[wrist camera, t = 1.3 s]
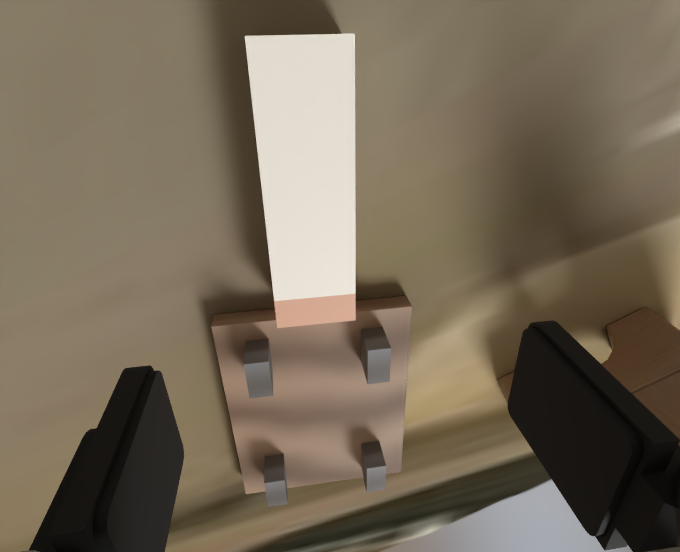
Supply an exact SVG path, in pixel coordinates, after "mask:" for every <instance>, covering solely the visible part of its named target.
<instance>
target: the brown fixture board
mask: <svg viewBox="0 0 680 552" xmlns="http://www.w3.org/2000/svg"><path fill="white" fill-rule="evenodd" d="M411 313H412V306H411V304H410V302H409V300H408V298H407V296H398V297H388V298H377V299H367V300H357V301H356V320H354V321H344V322H334V323H324V324H314V325H304V326H294V327H284V328H277V322H276V313H275V309H265V310H254V311H244V312H234V313H224V314H214V316H213V321H212V326H211V328H212V333H213V337H214V342H215V347H216V352H217V357H218V361H219V366H220V371H221V376H222V381H223V386H224V390H225V395H226V400H227V405H228V410H229V414H230V419H231V424H232V429H233V434H234V439H235V443H236V448H237V453H238V458H239V463H240V467H241V472H242V477H243V482H244V487H245V491H246V494H250V493H257V492H264V491H266V497H267V503H268V507H270V506H277V505H284V504H288V496H287V488H291V487H298V486H305V485H312V484H319V483H326V482H333V481H340V480H346V479H353V478H360V477H364V482H365V487H366V491H367V492H371V491H377V490H384V489H385V484H386V474H388V473H395V472H401V462H402V447H403V432H404V417H405V402H406V387H407V373H408V358H409V343H410V328H411Z"/></svg>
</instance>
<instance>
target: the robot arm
mask: <svg viewBox="0 0 680 552" xmlns="http://www.w3.org/2000/svg"><path fill="white" fill-rule="evenodd" d="M508 411H509V414H510V416H511V418H512V419H513V421H514V422H515V424H516V425H517V427H518V428H519V430H520V431H521V433H522V434H523V436H524V437H525V439H526V440H527V442H528V444H529V445H530V447H531V448H532V450H533V451H534V453H535V454H536V456H537V457H538V459H539V460H540V462H541V463H542V465H543V466H544V468H545V469H546V471H547V473H548V474H549V476H550V477H551V479H552V480H553V482H554V483H555V484H556V486H557V488H558V489H559V491H560V492H561V494H562V495H563V497H564V498H565V500H566V501H567V503H568V505H569V506H570V508H571V509H572V511H573V512H574V514H575V515H576V517H577V518H578V520H579V521H580V523H581V524H582V526H583V527H584V529H585V530H586V531H587V533H589V534H590V535H591V536H595V537H596V538H597V539H598V541H599V543H600V544H601V546H602V547H603V549H604V550H609V549H615V548H621V547H626V546H627V545H628V546H629V547H630V548H631V550H632V551H633V552H680V446H679V445H678V444H679V442H680V439H679V438H678V437H677V436H676V435H675V434H674V433H673V432H672V431H670V430H669V429H668V428H667V427H666V426H665V425H664V424H663V423H662V422H661V421H660V420H659V419H658V418H657V417H656V416H655V415H654V414H653V413H652V412H651V411H650V410H648V409H647V408H646V407H645V406H644V405H643V404H642V403H641V402H640V401H639V400H638V399H637V398H636V397H635V396H634V395H633V394H632V393H631V392H630V391H629V390H627V389H626V388H625V387H624V386H623V385H622V384H621V383H620V382H619V381H618V380H617V379H616V378H615V377H614V376H613V375H612V374H611V373H610V372H609V371H608V370H606V369H605V368H604V367H603V366H602V365H601V364H600V363H599V362H598V361H597V360H596V359H595V358H594V357H593V356H592V355H591V354H590V353H589V352H588V351H587V350H586V349H584V348H583V347H582V346H581V345H580V344H579V343H578V342H577V341H576V340H575V339H574V338H573V337H572V336H571V335H570V334H569V333H568V332H567V331H566V330H565V329H563V328H562V327H561V326H560V325H559V324H558V323H557V322H555V321H543V322H534V323H531V324H530V325H529V327H528V329H525V330H524V331H523V334H522V339H521V343H520V348H519V353H518V357H517V362H516V366H515V371H514V376H513V380H512V385H511V389H510V394H509V399H508ZM183 460H184V450H183V444H182V441H181V438H180V434H179V431H178V427H177V424H176V420H175V417H174V414H173V410H172V407H171V403H170V400H169V397H168V393H167V390H166V386H165V383H164V380H163V376H162V373H161V372H160V371H154V370H153V368H152V367H151V366H141V367H132V368H126V369H124V370H123V372H122V374H121V376H120V378H119V380H118V383H117V385H116V387H115V389H114V391H113V394H112V396H111V398H110V400H109V402H108V405H107V407H106V409H105V411H104V413H103V416H102V418H101V420H100V422H99V424H98V427H97V428H96V429H90V430H89V431H87V432H86V434H85V435H84V437H83V438H82V440H81V442H80V445H79V447H78V449H77V451H76V453H75V455H74V457H73V459H72V461H71V463H70V465H69V468H68V470H67V472H66V474H65V476H64V478H63V480H62V482H61V484H60V486H59V488H58V491H57V493H56V495H55V497H54V499H53V501H52V503H51V505H50V507H49V509H48V511H47V514H46V516H45V518H44V520H43V522H42V524H41V526H40V528H39V530H38V532H37V534H36V537H35V539H34V541H33V543H32V545H31V547H30V549H29V551H21V552H165V547H166V542H167V537H168V533H169V528H170V523H171V518H172V513H173V509H174V504H175V499H176V494H177V489H178V485H179V480H180V475H181V470H182V465H183Z"/></svg>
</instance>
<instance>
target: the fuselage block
mask: <svg viewBox="0 0 680 552" xmlns="http://www.w3.org/2000/svg"><path fill="white" fill-rule="evenodd" d="M245 43H246V52H247V61H248V70H249V79H250V88H251V97H252V106H253V115H254V124H255V133H256V142H257V151H258V160H259V169H260V178H261V187H262V196H263V205H264V214H265V223H266V232H267V241H268V250H269V259H270V268H271V277H272V286H273V295H274V304H275V313H276V322H277V328H284V327H294V326H304V325H314V324H324V323H334V322H344V321H354V320H356V276H355V34H313V35H265V36H245Z"/></svg>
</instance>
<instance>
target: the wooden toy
mask: <svg viewBox="0 0 680 552" xmlns="http://www.w3.org/2000/svg"><path fill="white" fill-rule="evenodd" d="M606 328H607V333H608V337H609V341H610V344H611V348H612V353H611V354H610V356H609V358H608V360H606V361H605V362H603V363H602V364H601V365H602V366H603V367H604V368H605V369H606V370H608V371H609V372H610V373H611V374H612V375H613V376H614V377H615V378H616V379H617V380H618V381H619V382H620V383H621V384H622V385H623V386H624V387H625V388H626V389H627V390H629V391H630V392H631V393H632V394H633V395H634V396H635V397H636V398H637V399H638V400H639V401H640V402H641V403H642V404H643V405H644V406H645V407H646V408H647V409H648V410H650V411H651V412H652V413H653V414H654V415H655V416H656V417H657V418H658V419H659V420H660V421H661V422H662V423H663V424H664V425H665V426H666V427H667V428H668V429H669V430H670V431H672V432H673V433H674V434H675V435H676V436H677V437H678V438H679V439H680V330H678V329H677V328H676V327H674V326H673V325H671V324H670V323H668V322H667V321H666V320H664V319H663V318H661V317H660V316H658V315H657V314H656V313H654V312H653V311H651V310H650V309H648V308H646V307H644V308H642V309H640V310H638V311H636V312H634V313H632V314H630V315H628V316H626V317H624V318H622V319H620V320H617V321H615V322H613V323H611V324H609V325H608V326H607V327H606ZM513 376H514V372H512V373H510V374H508V375H506V376H504V377H502V378H500V379H498V384H499V386H500V388H501V390H502V392H503V394H504V396H505V398H506V401H507V402H508V399H509V394H510V389H511V385H512V380H513ZM678 445H679V446H680V442H679V444H678Z"/></svg>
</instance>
